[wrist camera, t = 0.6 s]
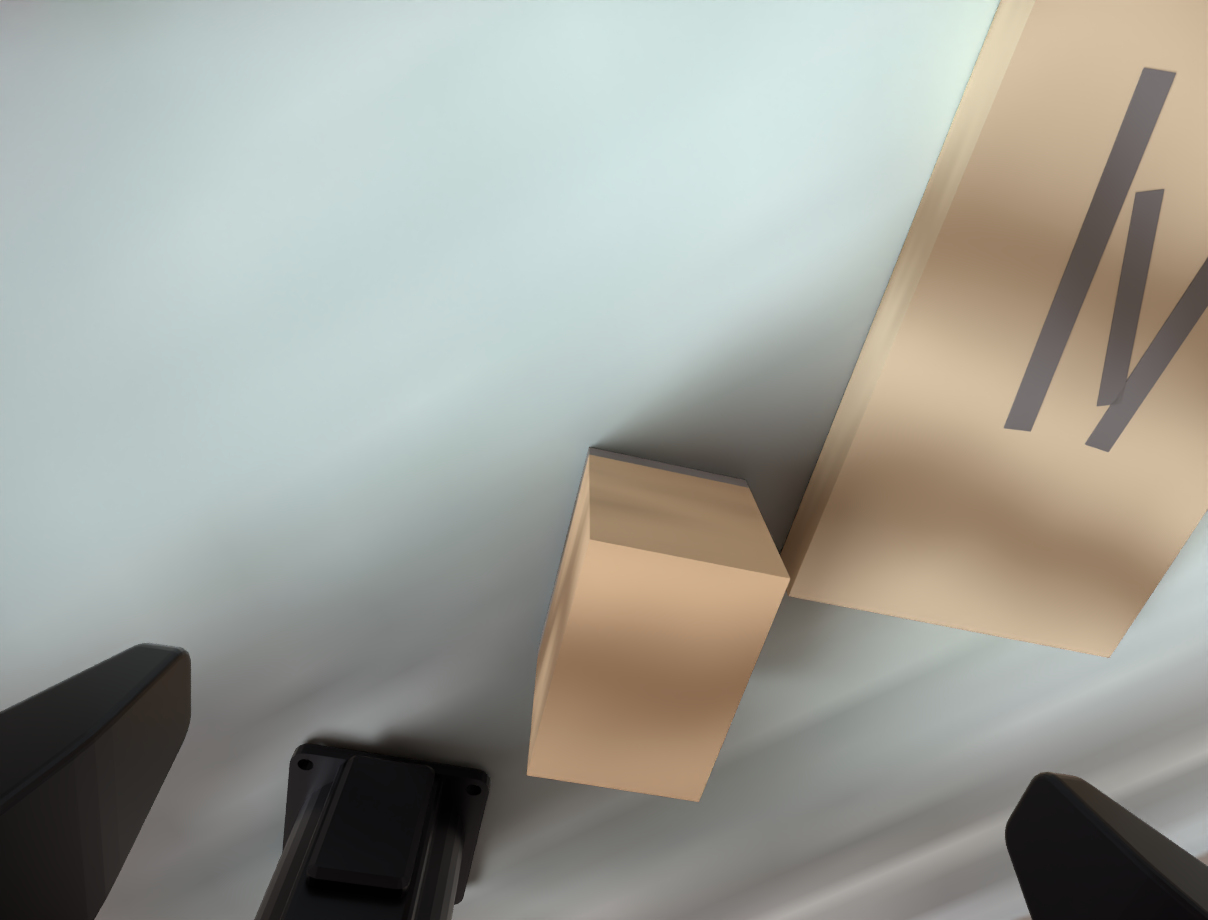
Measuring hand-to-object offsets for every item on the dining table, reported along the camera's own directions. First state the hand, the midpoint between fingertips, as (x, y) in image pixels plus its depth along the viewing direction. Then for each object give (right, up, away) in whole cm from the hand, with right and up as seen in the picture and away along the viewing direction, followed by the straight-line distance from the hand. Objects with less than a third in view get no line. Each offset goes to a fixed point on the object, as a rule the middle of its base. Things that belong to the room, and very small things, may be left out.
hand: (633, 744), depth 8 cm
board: (+12, +7, +11) cm, 17 cm away
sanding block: (+1, 0, +14) cm, 14 cm away
